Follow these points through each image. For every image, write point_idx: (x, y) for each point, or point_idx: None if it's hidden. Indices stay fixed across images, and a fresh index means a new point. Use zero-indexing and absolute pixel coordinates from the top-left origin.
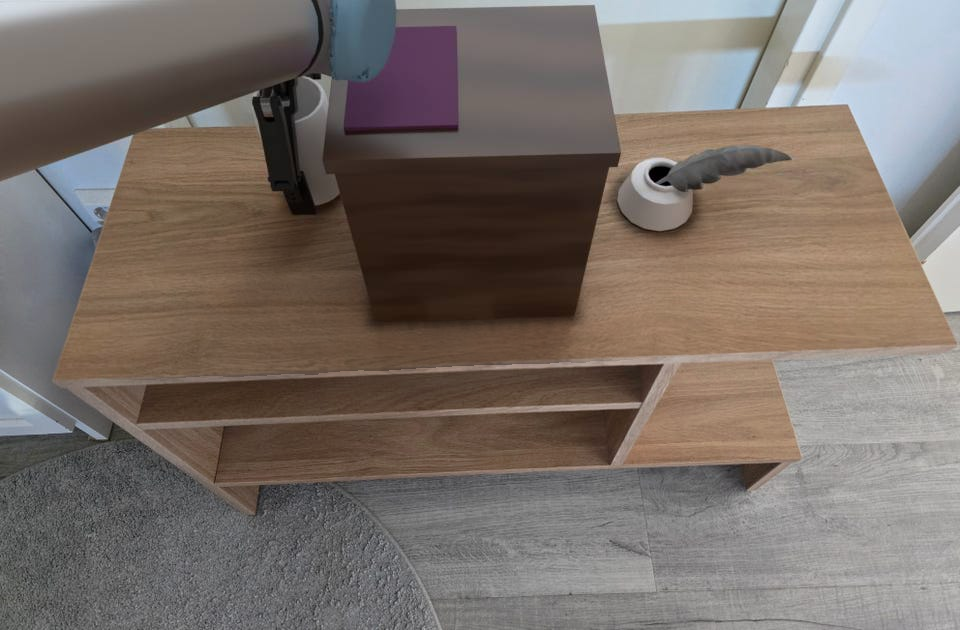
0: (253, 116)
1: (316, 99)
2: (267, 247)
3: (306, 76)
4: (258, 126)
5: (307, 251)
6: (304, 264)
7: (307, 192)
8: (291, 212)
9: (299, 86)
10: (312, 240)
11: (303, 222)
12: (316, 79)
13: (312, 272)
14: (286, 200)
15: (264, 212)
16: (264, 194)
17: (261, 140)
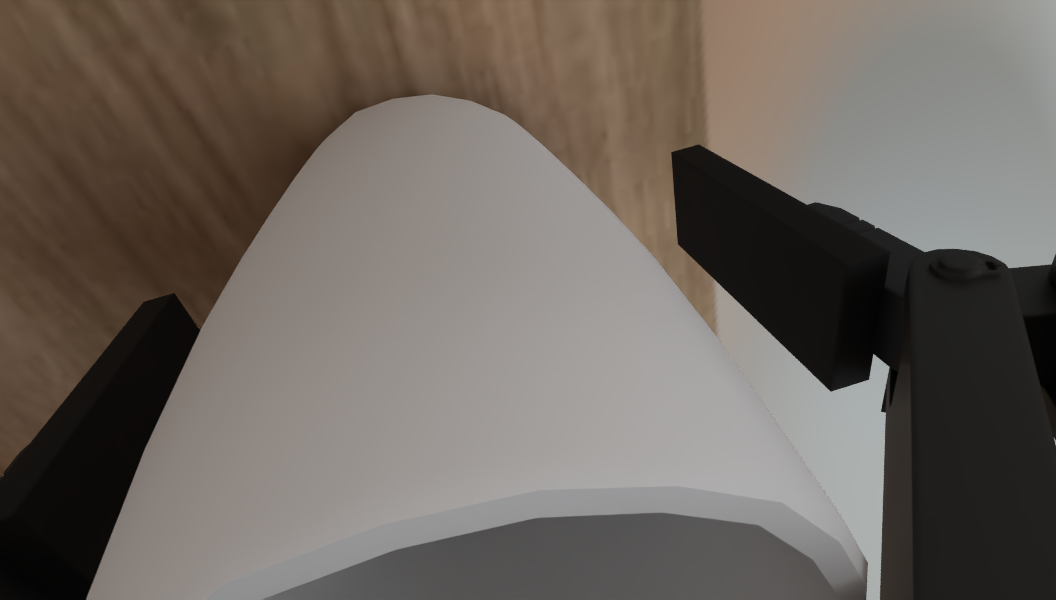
0: (242, 410)
1: (676, 551)
2: (45, 143)
3: (887, 471)
4: (146, 484)
5: (129, 300)
6: (66, 313)
7: None
8: (135, 314)
9: (759, 550)
10: (188, 296)
11: (252, 234)
12: (886, 392)
13: (51, 350)
14: (92, 366)
15: (223, 48)
16: (325, 3)
17: (223, 309)
